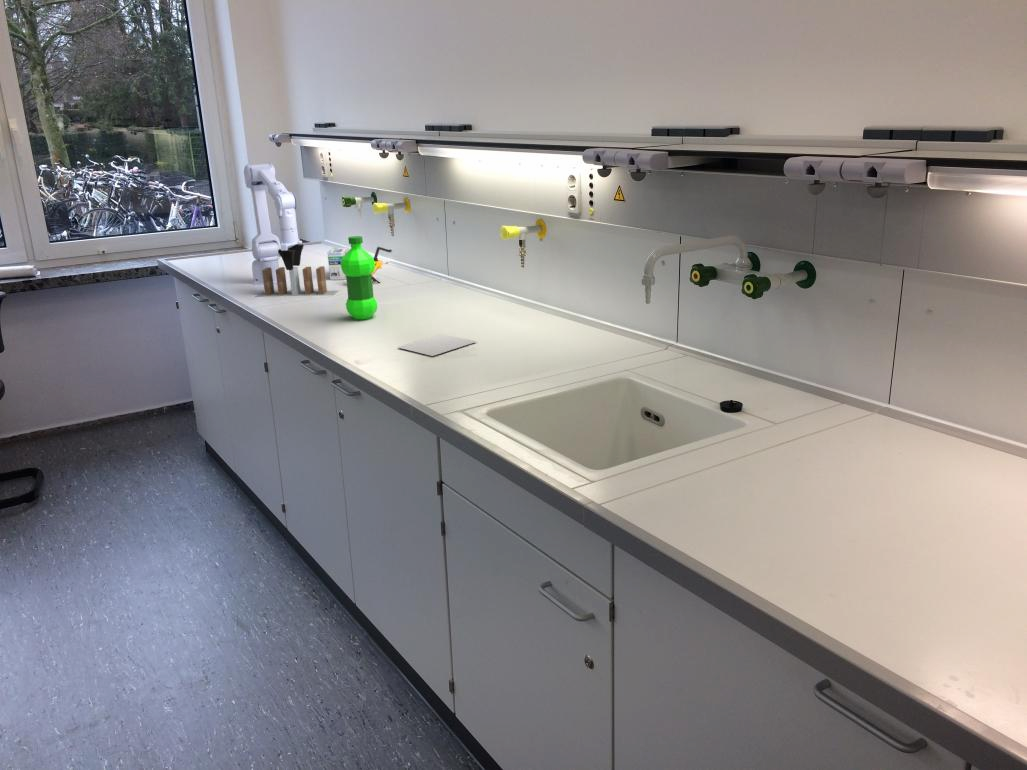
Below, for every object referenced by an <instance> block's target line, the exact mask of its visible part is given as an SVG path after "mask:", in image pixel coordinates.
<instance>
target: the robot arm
mask: <svg viewBox="0 0 1027 770" xmlns="http://www.w3.org/2000/svg"><path fill="white" fill-rule="evenodd" d="M243 177H244V182H245V183H244V184H245V186H246V188H248V189H250V191H251V195H252V196H251V197H252V203H253V210H254V215H255V220H256V228H257V234H256V235H255V236H254V237H253V238H252V240H251V252H252V256H253V258H254V259H255V260H253V261H252V263H251V271H252V278H253V284H252V285H256V286H257V285H258V286H259V285H263V286H264V281H263V273H262V270H263V269H265V268H271V269H272V277H273V285H277V278H276V269H278V268H280V265H279V260H280V258H281V259H282V261H283V264H284V266H285V271H289V270H293V267H298V266H301V259H302V258H301V257H302V252H303V249H304V244H303V241H302V240H300V237H299V232H298V224H297V215H296V214H297V213H296V210H297V208H298V200H297V196H296V193H294V191H293V192H292V191H288V190H287V188H286V187H285V185H284V184H283V182H281V181H278V180H277V179H276V168H275V166H274V164H272V163H270V162H269V163H258V164H257V163H255V164H245V166H244V168H243ZM266 189H267V192H268V194H269V195H270V196H271V198H272V200H273V202H274V203H273V204H274V207H275V208H274V209H275V210H276V216H278V221H279V222H278V223H279V229H280V237H281V238H279V236H277V235H275V234H273V233H272V227H271V221H270V214H269V208H268V200H267V194H266V193H267V192H266ZM280 239H281V240H280Z"/></svg>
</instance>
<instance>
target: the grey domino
mask: <svg viewBox="0 0 1027 770" xmlns="http://www.w3.org/2000/svg"><path fill="white" fill-rule="evenodd" d="M288 271H289V281H290V288H291V291H292V295H297V294H299V293H300V292H301V291H302V290H301V285H300V283H301V281H300V275H299V267H298V266H293V270H288Z"/></svg>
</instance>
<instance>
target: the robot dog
mask: <svg viewBox="0 0 1027 770" xmlns="http://www.w3.org/2000/svg"><path fill="white" fill-rule="evenodd" d="M380 250H381V251H383V252H387V253H392V252H393V250H392V249H388V248H384V247H381V246H377V247H376V250H375V253H374V256H373V259H374V261H375V270H374V272H373V273H372V282H375V283H377V284H381V282H380V281H379V280H377V279H376V278H375V277H374V274H375V273H376V272H377V271H378V270H379V269H381V270H382V268H383V260H381V259H379V258H378V257H379V253H380ZM345 276H346V275H345Z"/></svg>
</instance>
